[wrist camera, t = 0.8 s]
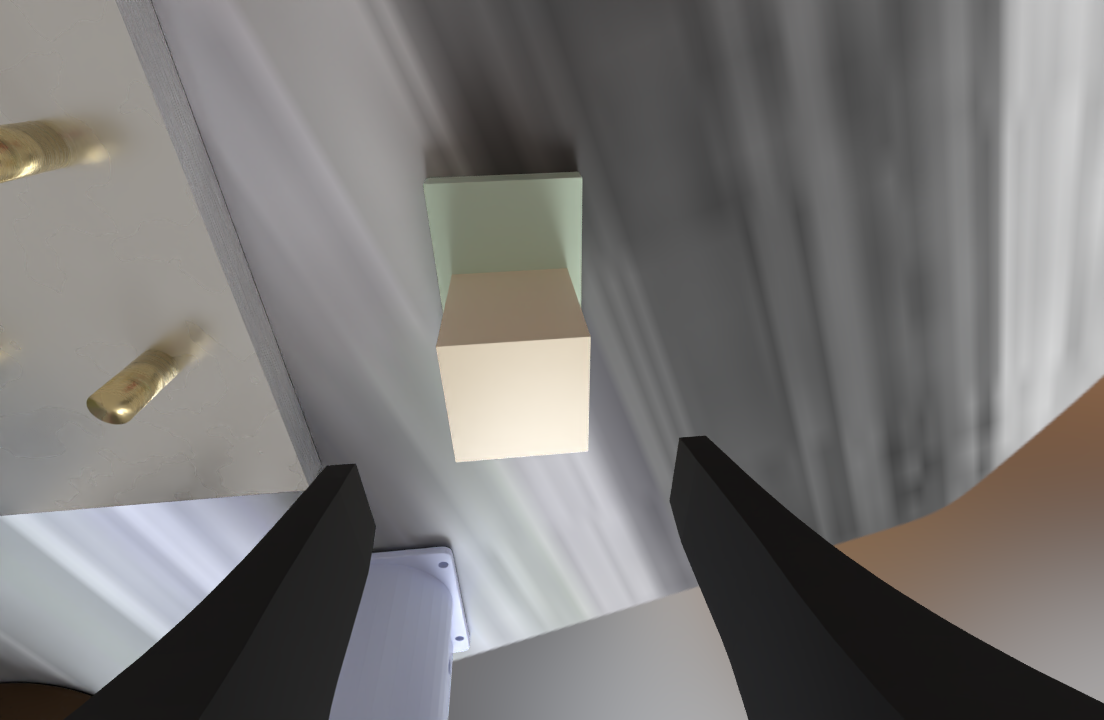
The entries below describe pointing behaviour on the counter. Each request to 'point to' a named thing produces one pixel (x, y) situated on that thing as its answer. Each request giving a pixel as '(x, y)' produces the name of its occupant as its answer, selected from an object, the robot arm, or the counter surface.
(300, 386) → the counter surface
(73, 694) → the olive oil
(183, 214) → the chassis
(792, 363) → the counter surface
